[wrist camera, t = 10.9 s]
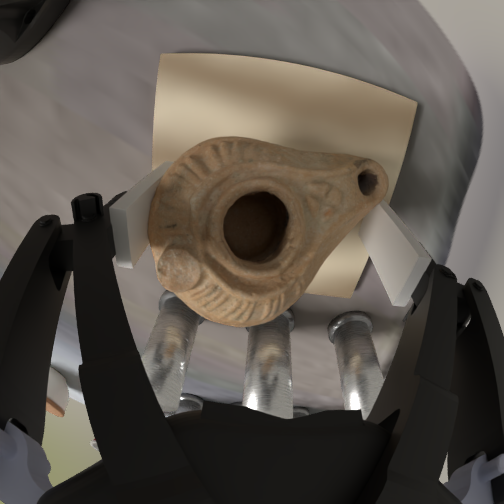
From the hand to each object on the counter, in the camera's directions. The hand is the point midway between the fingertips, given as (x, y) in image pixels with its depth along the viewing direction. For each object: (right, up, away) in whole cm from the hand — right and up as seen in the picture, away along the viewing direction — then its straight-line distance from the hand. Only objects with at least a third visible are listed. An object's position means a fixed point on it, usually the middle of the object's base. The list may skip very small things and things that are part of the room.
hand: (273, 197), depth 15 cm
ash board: (0, +1, +2) cm, 3 cm away
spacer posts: (-1, -18, +15) cm, 23 cm away
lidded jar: (-41, -28, +24) cm, 55 cm away
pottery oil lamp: (0, 0, 0) cm, 1 cm away
